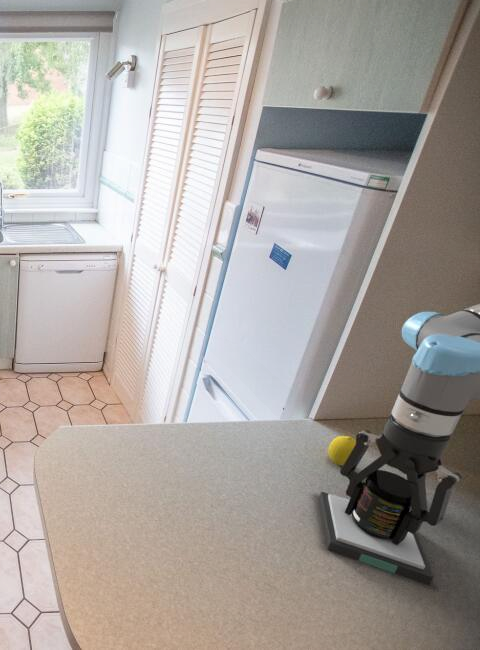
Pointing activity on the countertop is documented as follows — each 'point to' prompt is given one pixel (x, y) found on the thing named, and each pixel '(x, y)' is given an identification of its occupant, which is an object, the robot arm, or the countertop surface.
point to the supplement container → (382, 504)
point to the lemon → (341, 449)
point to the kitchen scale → (371, 543)
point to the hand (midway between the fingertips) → (373, 525)
